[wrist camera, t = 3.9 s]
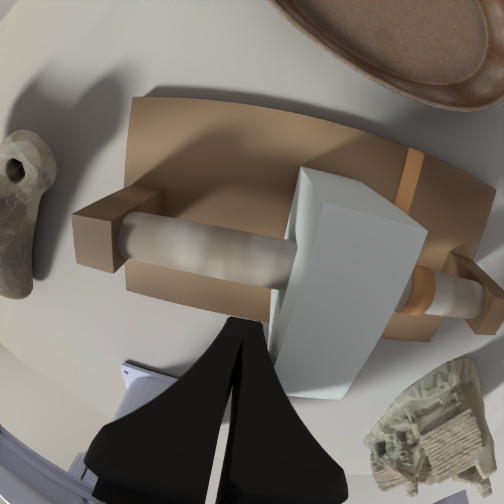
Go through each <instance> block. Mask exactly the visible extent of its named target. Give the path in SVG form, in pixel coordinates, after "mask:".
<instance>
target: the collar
mask: <svg viewBox="0 0 504 504" xmlns="http://www.w3.org/2000/svg"><path fill="white" fill-rule="evenodd" d="M427 233H428V231H427V230H426V229H425V228H424V227H422V226H421V225H420V224H419V223H417V222H416V221H415V220H413V219H412V218H411V217H409V216H408V215H407V214H406V213H404V212H403V211H402V210H400V209H399V208H397V207H396V206H395V205H393V204H392V203H391V202H389V201H388V200H386V199H385V198H384V197H382V196H381V195H379V194H378V193H376V192H375V191H373V190H372V189H370V188H369V187H367V186H366V185H364V184H363V183H361V182H360V181H357V180H354V179H350V178H346V177H343V176H339V175H335V174H331V173H327V172H323V171H319V170H315V169H310V168H306V167H302V166H300V170H299V175H298V180H297V184H296V189H295V193H294V198H293V202H292V207H291V211H290V215H289V220H288V224H287V228H286V233H285V237H284V239H287V240H292V241H297V246H298V249H297V253H296V257H295V261H294V264H293V268H292V272H291V275H290V279H289V283H288V286H287V290H286V291H280V290H275V289H272V290H271V305H270V322H269V339H268V351H269V355H270V357H271V360H272V363H273V366H274V369H275V371H276V374H277V376H278V378H279V381H280V383H281V385H282V387H283V389H284V391H285V393H286V395H288V396H296V397H307V398H318V399H334V400H341V399H342V397H343V396H344V394H345V393H346V392H347V390H348V389H349V387H350V386H351V384H352V383H353V381H354V380H355V378H356V376H357V375H358V373H359V372H360V370H361V369H362V367H363V365H364V364H365V362H366V361H367V359H368V357H369V356H370V354H371V352H372V350H373V349H374V347H375V345H376V344H377V342H378V340H379V338H380V336H381V335H382V333H383V331H384V329H385V327H386V325H387V324H388V322H389V320H390V318H391V316H392V314H393V312H394V310H395V308H396V306H397V304H398V302H399V300H400V298H401V296H402V294H403V291H404V289H405V287H406V285H407V283H408V280H409V278H410V276H411V274H412V271H413V269H414V267H415V264H416V262H417V259H418V257H419V254H420V252H421V249H422V247H423V244H424V241H425V239H426V236H427Z"/></svg>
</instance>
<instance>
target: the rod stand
mask: <svg viewBox="0 0 504 504" xmlns="http://www.w3.org/2000/svg"><path fill="white" fill-rule="evenodd" d="M300 166H302V167H306V168H310V169H315V170H319V171H323V172H327V173H331V174H335V175H339V176H343V177H346V178H350V179H354V180H357V181H360V182H361V183H363V184H364V185H366V186H367V187H369V188H370V189H372V190H373V191H375V192H376V193H378V194H379V195H381V196H382V197H384V198H385V199H386V200H388V201H389V202H391V203H392V204H393V205H395V206H396V207H397V208H399V209H400V210H402V211H403V212H404V213H406V214H407V215H408V216H409V217H411V218H412V219H413V220H415V221H416V222H417V223H419V224H420V225H421V226H422V227H424V228H425V229H426V230H427V231H428V233H427V236H426V239H425V241H424V244H423V247H422V249H421V252H420V254H419V257H418V259H417V262H416V264H415V267H414V269H413V271H412V274H411V276H410V278H409V280H408V283H407V285H406V287H405V289H404V291H403V294H402V296H401V298H400V300H399V302H398V304H397V306H396V308H395V310H394V312H393V314H392V316H391V318H390V320H389V322H388V324H387V325H386V327H385V329H384V331H383V333H382V335H381V336H380V338H385V339H396V340H407V341H421V342H429V341H430V340H431V338H432V337H433V335H434V333H435V332H436V330H437V328H438V327H439V325H440V323H441V322H442V320H443V318H444V316H447V317H456V318H464V319H465V320H466V322H467V323H468V325H469V326H470V327H471V329H472V330H473V332H474V333H475V334H482V335H495V334H496V332H497V331H498V329H499V327H500V326H501V324H502V322H503V321H504V290H503V289H502V288H501V287H500V286H499V285H498V284H497V283H496V282H495V281H494V280H492V279H491V278H490V277H489V276H488V275H487V274H486V273H485V272H484V271H483V270H482V269H481V268H480V267H479V266H477V265H476V264H475V263H474V262H473V261H472V259H473V257H474V255H475V252H476V250H477V247H478V245H479V242H480V239H481V237H482V234H483V231H484V228H485V225H486V223H487V220H488V216H489V213H490V210H491V207H492V203H493V200H494V196H495V193H496V189H494V188H492V187H491V186H489V185H487V184H485V183H484V182H482V181H480V180H478V179H476V178H474V177H473V176H471V175H469V174H467V173H465V172H463V171H461V170H459V169H457V168H455V167H453V166H451V165H449V164H447V163H444V162H442V161H440V160H438V159H436V158H433V157H431V156H429V155H427V154H425V153H422V152H420V151H417V150H415V149H412V148H410V147H407V146H404V145H402V144H399V143H397V142H394V141H391V140H388V139H386V138H383V137H380V136H377V135H374V134H371V133H368V132H365V131H362V130H358V129H355V128H352V127H348V126H345V125H341V124H338V123H334V122H330V121H327V120H323V119H319V118H315V117H311V116H306V115H302V114H297V113H293V112H288V111H283V110H278V109H272V108H267V107H261V106H254V105H248V104H241V103H233V102H225V101H216V100H206V99H193V98H177V97H133V99H132V106H131V113H130V121H129V129H128V139H127V149H126V162H125V179H124V188H123V189H121V190H119V191H117V192H115V193H113V194H111V195H109V196H106V197H104V198H102V199H100V200H98V201H96V202H94V203H92V204H90V205H88V206H86V207H84V208H83V209H81V210H79V211H77V212H75V213H73V214H72V225H73V236H74V246H75V254H76V262H77V263H78V264H81V265H84V266H88V267H91V268H95V269H98V270H102V271H106V272H109V273H113V274H114V273H115V272H116V271H117V270H118V269H119V268H120V267H121V266H122V265H123V264H124V263H125V277H126V290H127V291H131V292H135V293H138V294H142V295H146V296H150V297H154V298H157V299H161V300H165V301H169V302H174V303H178V304H182V305H186V306H190V307H195V308H199V309H204V310H208V311H213V312H218V313H222V314H227V315H232V316H237V317H242V318H247V319H252V320H258V321H263V322H270V305H271V290H272V289H275V290H280V291H286V290H287V286H288V283H289V279H290V275H291V272H292V268H293V264H294V261H295V257H296V253H297V249H298V246H297V241H292V240H287V239H284V237H285V233H286V228H287V224H288V220H289V215H290V211H291V207H292V202H293V198H294V193H295V189H296V184H297V180H298V175H299V170H300Z"/></svg>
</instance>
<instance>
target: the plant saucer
mask: <svg viewBox="0 0 504 504" xmlns="http://www.w3.org/2000/svg"><path fill="white" fill-rule="evenodd" d="M268 1H269V2H270V3H271V5H272V6H273V7H274V8H275V9H276V10H277V11H278V12H279V13H280V14H281V15H282V16H283V17H284V18H286V19H287V20H288V21H289V22H290V23H291V24H292V25H293V26H295V27H296V28H297V29H298V30H299V31H300V32H302V33H303V34H304V35H305V36H307V37H308V38H309V39H311V40H312V41H313V42H315V43H316V44H317V45H319V46H320V47H321V48H323V49H324V50H326V51H327V52H328V53H330V54H331V55H333V56H334V57H336V58H337V59H338V60H340V61H341V62H343V63H344V64H346V65H348V66H349V67H351V68H352V69H354V70H355V71H357V72H359V73H360V74H362V75H364V76H365V77H367V78H369V79H371V80H373V81H374V82H376V83H378V84H380V85H382V86H384V87H386V88H388V89H390V90H392V91H394V92H396V93H398V94H400V95H403V96H405V97H407V98H410V99H412V100H415V101H417V102H420V103H423V104H426V105H429V106H432V107H436V108H440V109H444V110H451V111H459V112H473V111H481V110H485V109H487V108H490V107H493V106H495V105H496V104H498V103H500V102H501V101H502V100H504V0H268Z"/></svg>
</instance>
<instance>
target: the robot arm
mask: <svg viewBox="0 0 504 504" xmlns="http://www.w3.org/2000/svg"><path fill="white" fill-rule="evenodd" d="M121 369H122V373H123V377H124V381H125V385H126V388H127V391H126V393H125V395H124V397H123V399H122V401H121V403H120V405H119V407H118V409H117V411H116V413H115V415H114V417H113V420H112V422H111V423H109V424H106V425H104V426H103V427H102V428H101V430H100V431H99V432H98V434H97V435H96V437H95V438H94V439H93V441H92V443H91V444H90V446H89V449H88V451H85V452H82V453H79V454H78V455H77V456H76V458H75V459H74V461H73V463H72V465H71V466H70V468H69V471H68V472H66V471H64V470H63V469H61V468H60V467H58V466H56V465H55V464H53V463H51V462H50V461H48V460H47V459H45V458H43V457H42V456H40V455H39V454H37V453H36V452H34V451H33V450H32V449H30V448H29V447H27V446H26V445H25V444H23V443H22V442H21V441H19V440H18V439H17V438H15V437H14V436H13V435H12V434H10V433H9V432H8V431H7V430H5V429H4V428H3V427H2V426H1V424H0V497H2V498H3V499H4V500H5V501H6V502H7V503H8V504H205V500H206V495H207V490H208V485H209V480H210V475H211V470H212V465H213V460H214V455H215V450H216V445H217V440H218V435H219V430H220V426H221V422H222V419H223V416H224V412H225V409H226V406H227V403H228V399H229V396H230V393H231V389H232V401H231V414H230V426H229V434H228V439H227V445H226V450H225V455H224V461H223V466H222V471H221V477H220V482H219V487H218V492H217V498H216V502H215V504H341V503H343V502H345V501H346V500H347V499H348V486H347V482H346V478H345V474H344V470H343V469H342V468H341V467H340V466H339V465H338V464H337V463H336V462H335V461H334V460H333V459H332V458H331V457H330V456H329V454H328V453H327V452H326V451H325V450H324V449H323V448H322V447H321V445H320V444H319V443H318V442H317V441H316V439H315V438H314V437H313V436H312V434H311V433H310V432H309V430H308V429H307V427H306V426H305V425H304V423H303V422H302V420H301V419H300V418H299V416H298V414H297V413H296V411H295V409H294V408H293V406H292V404H291V403H290V401H289V399H288V397H287V395H286V393H285V391H284V389H283V387H282V385H281V383H280V381H279V378H278V376H277V374H276V371H275V369H274V366H273V363H272V360H271V357H270V355H269V351H268V348H267V344H266V341H265V336H264V331H263V324H262V323H261V322H258V321H252V320H247V319H242V318H237V317H232V316H231V317H229V318H227V321H226V323H225V325H224V327H223V328H222V330H221V331H220V333H219V334H218V336H217V337H216V339H215V340H214V341H213V343H212V344H211V345H210V346H209V348H208V349H207V350H206V351H205V353H204V354H203V355H202V356H201V357H200V358H199V359H198V360H197V362H196V363H195V364H194V365H193V366H192V367H191V368H190V369H189V370H188V371H187V372H186V373H185V374H184V375H183V376H181V377H180V378H179V379H177V378H173V377H170V376H166V375H162V374H159V373H156V372H152V371H149V370H146V369H143V368H140V367H137V366H134V365H131V364H128V363H123V364H122V365H121ZM232 386H233V388H232ZM434 504H469V503H468V498H467V494H466V490H463V491H460V492H458V493H456V494H453V495H451V496H448V497H446V498H444V499H442V500H439V501H437V502H436V503H434Z"/></svg>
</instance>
